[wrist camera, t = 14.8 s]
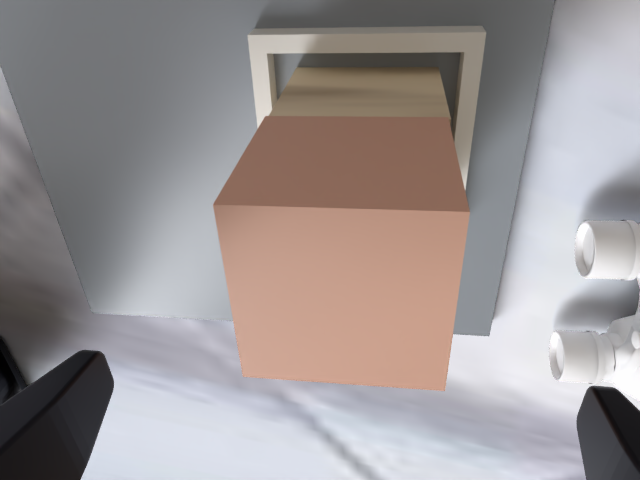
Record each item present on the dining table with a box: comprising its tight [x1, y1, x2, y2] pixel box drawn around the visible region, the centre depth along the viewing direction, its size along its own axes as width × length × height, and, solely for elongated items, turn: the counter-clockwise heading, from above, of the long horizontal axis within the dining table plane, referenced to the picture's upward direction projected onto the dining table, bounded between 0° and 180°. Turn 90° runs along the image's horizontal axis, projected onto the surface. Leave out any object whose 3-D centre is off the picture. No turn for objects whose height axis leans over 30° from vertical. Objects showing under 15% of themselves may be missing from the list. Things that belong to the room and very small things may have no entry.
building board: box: [0, 0, 555, 336], centre depth 20 cm, size 20×20×2 cm
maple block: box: [269, 67, 451, 123], centre depth 18 cm, size 5×5×5 cm
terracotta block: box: [213, 116, 470, 391], centre depth 13 cm, size 5×5×5 cm
